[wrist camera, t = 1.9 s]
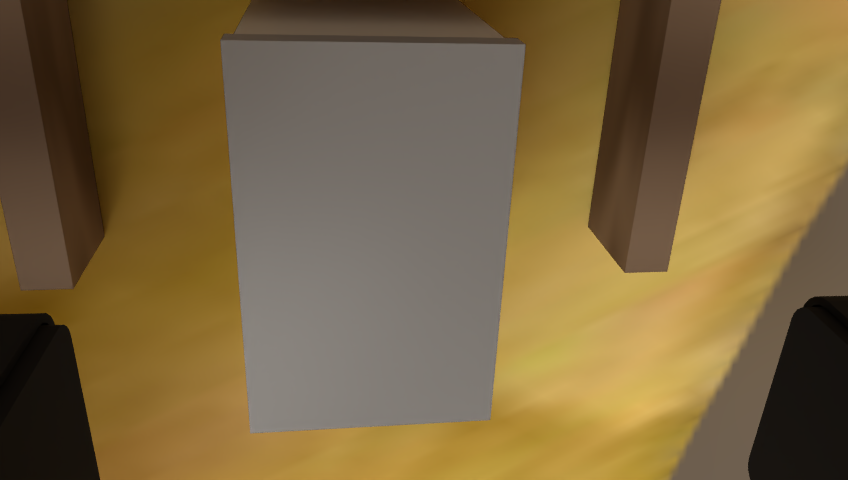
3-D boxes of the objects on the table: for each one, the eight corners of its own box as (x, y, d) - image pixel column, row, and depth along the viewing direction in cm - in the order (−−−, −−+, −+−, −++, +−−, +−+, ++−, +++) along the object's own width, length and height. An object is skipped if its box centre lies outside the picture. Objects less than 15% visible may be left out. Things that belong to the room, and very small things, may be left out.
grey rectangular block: (442, 272, 23) (489, 419, 17) (268, 277, 22) (250, 433, 16) (457, -8, 19) (525, 43, 13) (251, -13, 19) (220, 40, 12)
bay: (625, 225, 23) (692, 299, 19) (59, 237, 21) (-3, 323, 17) (682, -115, 19) (782, -114, 15) (-14, -146, 17) (-118, -154, 13)
